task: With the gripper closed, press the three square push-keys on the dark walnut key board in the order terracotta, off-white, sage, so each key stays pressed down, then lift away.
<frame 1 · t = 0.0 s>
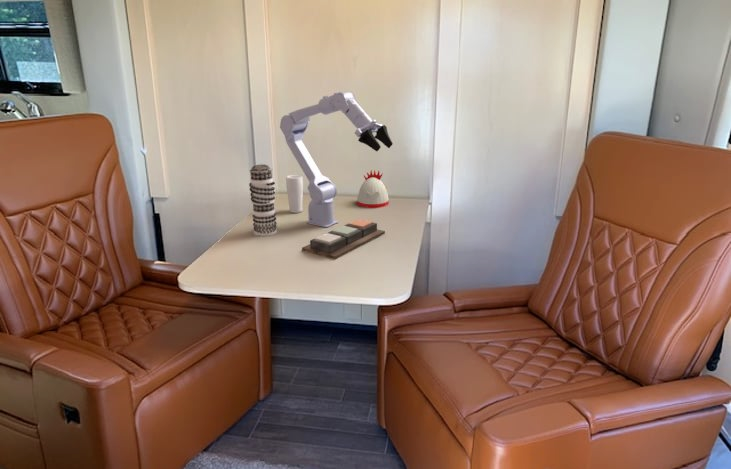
hand: (384, 147, 178), 32 cm above the table, tool tilted 50°, fingers open, 7 cm apart
knitted chicken hat: (372, 203, 230), on the table
key board: (345, 241, 184), on the table
white and black cylinder: (265, 232, 194), on the table
drinking glass: (296, 211, 219), on the table
off-white key: (328, 240, 175), point 4 cm above the table, slide at 0.0 cm
sage key: (345, 232, 183), point 4 cm above the table, slide at 0.0 cm
terracotta key: (360, 225, 190), point 4 cm above the table, slide at 0.0 cm
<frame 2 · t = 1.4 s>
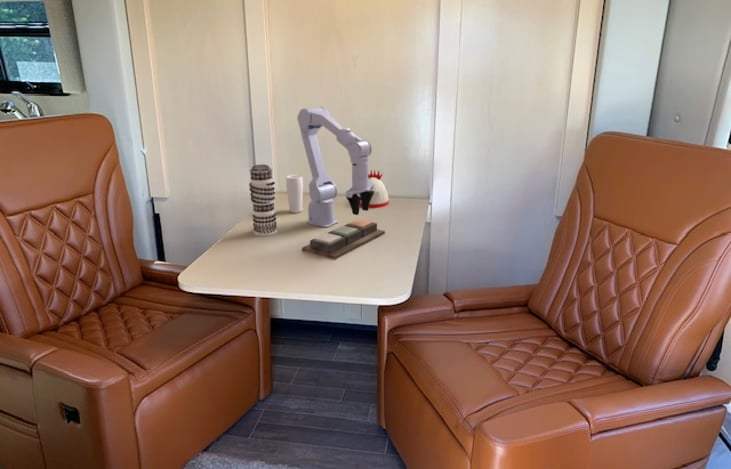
hand: (360, 212, 188), 8 cm above the table, tool pointing down, fingers open, 5 cm apart
nothing on the table moved.
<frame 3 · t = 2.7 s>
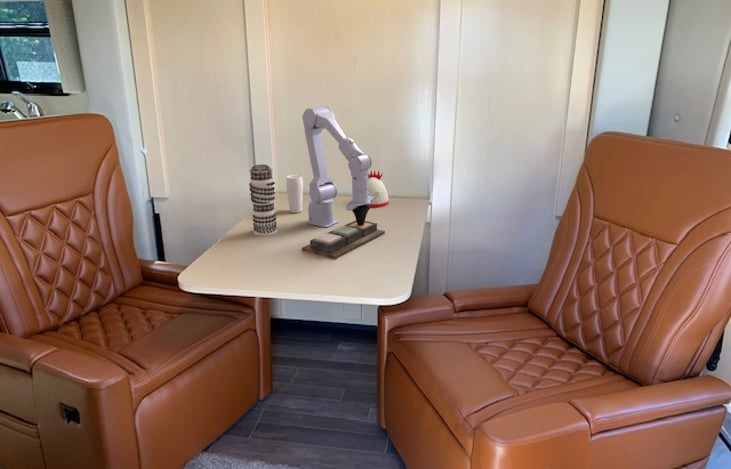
hand: (360, 224, 190), 4 cm above the table, tool pointing down, fingers closed, pressing on terracotta key
terracotta key: (360, 227, 190), point 3 cm above the table, slide at 0.9 cm, touching gripper
everything else where it was.
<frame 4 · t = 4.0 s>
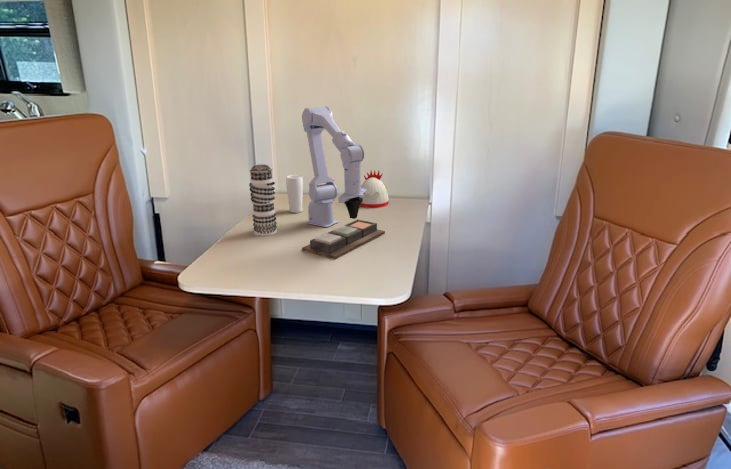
hand: (353, 218, 185), 7 cm above the table, tool pointing down, fingers closed
terracotta key: (360, 227, 190), point 2 cm above the table, slide at 1.0 cm
everything else where it was.
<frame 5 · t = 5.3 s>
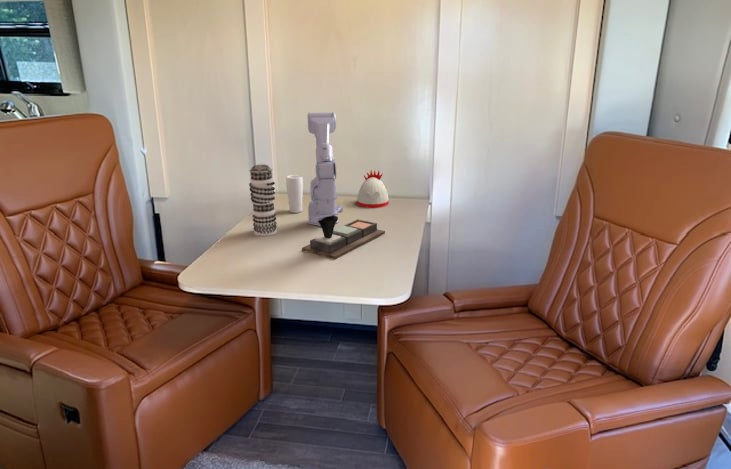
hand: (328, 237, 175), 4 cm above the table, tool pointing down, fingers closed, pressing on off-white key
off-white key: (328, 240, 175), point 3 cm above the table, slide at 0.0 cm, touching gripper
everything else where it was.
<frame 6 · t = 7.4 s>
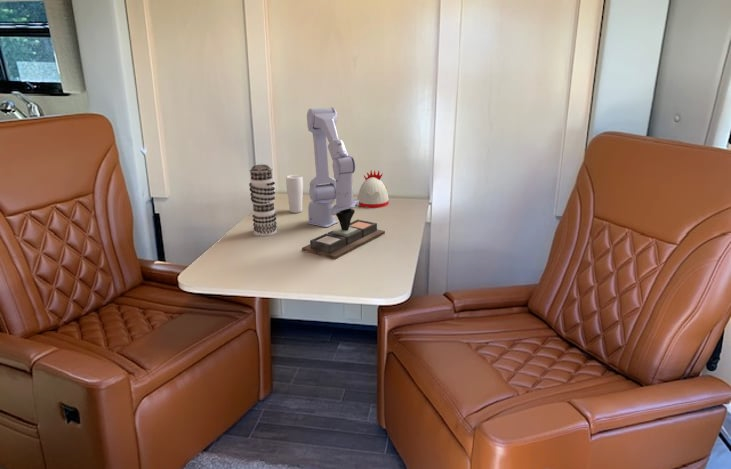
hand: (345, 229, 182), 4 cm above the table, tool pointing down, fingers closed, pressing on sage key
off-white key: (328, 243, 176), point 2 cm above the table, slide at 1.0 cm
sage key: (345, 232, 183), point 3 cm above the table, slide at 0.0 cm, touching gripper
everything else where it was.
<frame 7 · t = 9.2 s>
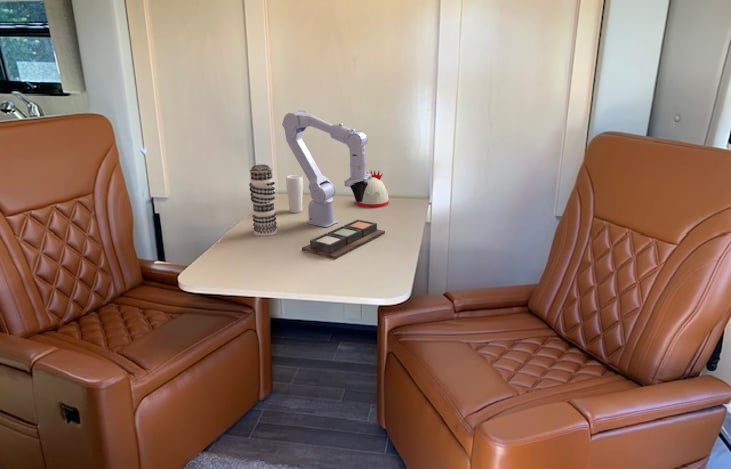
hand: (359, 201, 194), 10 cm above the table, tool pointing down, fingers closed
sage key: (345, 235, 183), point 2 cm above the table, slide at 1.0 cm
everything else where it was.
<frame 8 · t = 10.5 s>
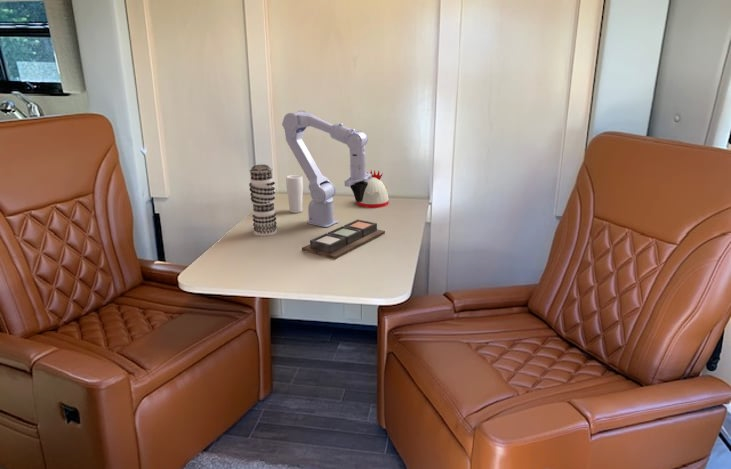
hand: (359, 201, 195), 10 cm above the table, tool pointing down, fingers closed
nothing on the table moved.
at the end: terracotta key slide at 1.0 cm; off-white key slide at 1.0 cm; sage key slide at 1.0 cm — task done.
